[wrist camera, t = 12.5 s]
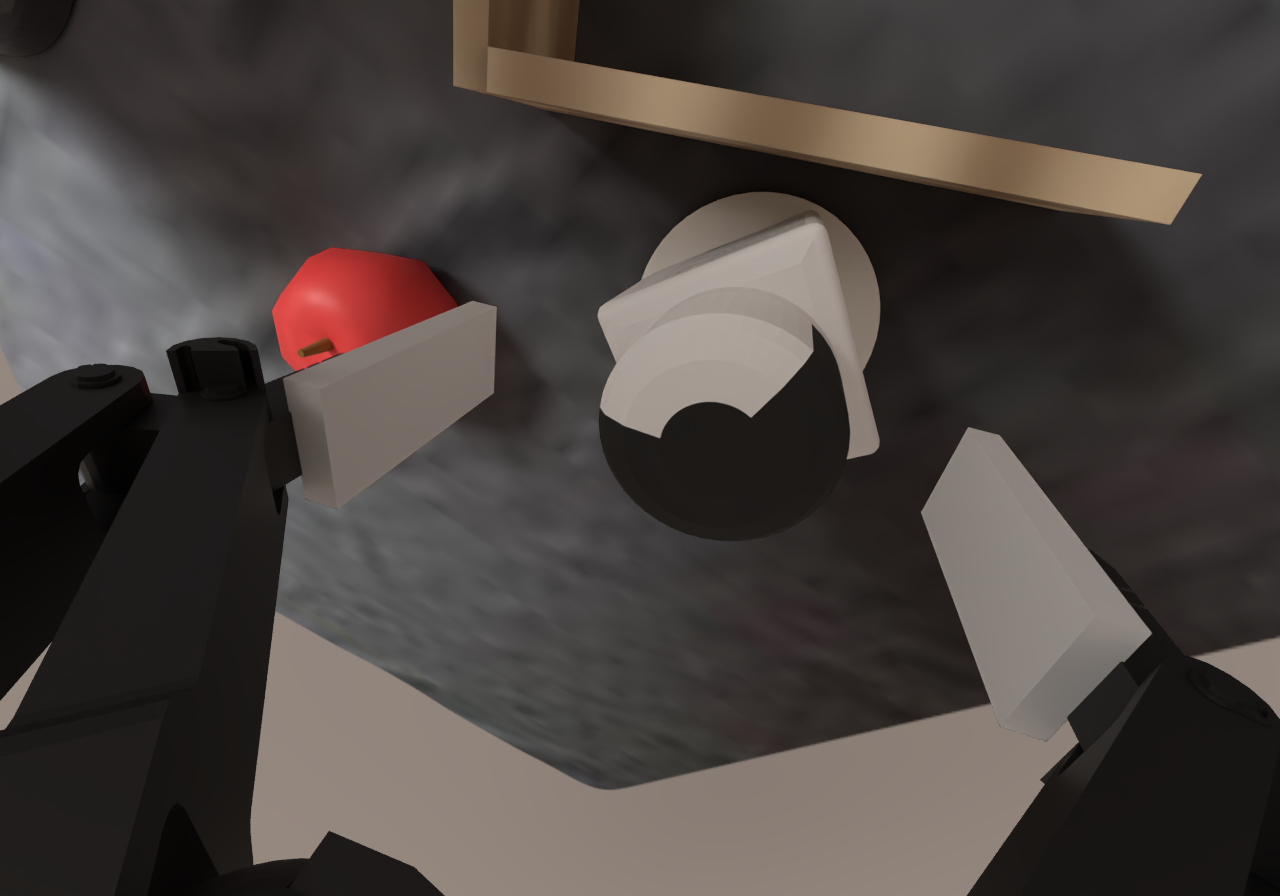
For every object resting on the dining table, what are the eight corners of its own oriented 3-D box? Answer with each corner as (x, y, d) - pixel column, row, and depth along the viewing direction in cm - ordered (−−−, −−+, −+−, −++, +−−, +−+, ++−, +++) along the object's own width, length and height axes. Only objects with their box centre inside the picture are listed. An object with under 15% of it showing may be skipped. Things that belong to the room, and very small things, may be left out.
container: (861, 379, 24) (912, 552, 13) (702, 421, 27) (632, 591, 16) (817, 206, 21) (833, 237, 10) (647, 274, 24) (518, 354, 13)
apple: (446, 219, 27) (322, 232, 20) (501, 368, 30) (411, 425, 23) (331, 257, 29) (188, 281, 23) (393, 390, 32) (283, 447, 26)
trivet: (623, 396, 28) (619, 400, 28) (662, 167, 23) (659, 167, 22) (827, 453, 27) (828, 458, 26) (922, 221, 21) (925, 222, 21)
